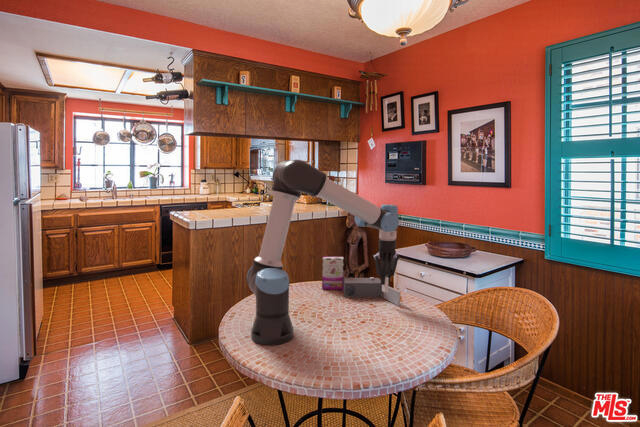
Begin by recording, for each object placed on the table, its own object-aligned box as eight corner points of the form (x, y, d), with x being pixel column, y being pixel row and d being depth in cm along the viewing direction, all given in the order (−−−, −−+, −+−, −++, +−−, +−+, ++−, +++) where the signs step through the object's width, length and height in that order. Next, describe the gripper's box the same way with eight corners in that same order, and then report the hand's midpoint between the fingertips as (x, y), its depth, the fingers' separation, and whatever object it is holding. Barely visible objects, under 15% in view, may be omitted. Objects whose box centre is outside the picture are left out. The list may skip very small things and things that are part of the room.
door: (401, 305, 161) (402, 291, 160) (397, 306, 160) (398, 291, 159) (385, 296, 172) (385, 283, 172) (381, 297, 172) (382, 284, 171)
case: (345, 298, 170) (345, 282, 169) (343, 291, 181) (343, 276, 180) (382, 298, 171) (383, 282, 170) (378, 291, 181) (379, 276, 180)
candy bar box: (343, 287, 187) (344, 256, 186) (343, 290, 182) (344, 258, 181) (322, 286, 188) (322, 256, 186) (321, 289, 183) (322, 258, 181)
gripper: (379, 241, 152) (376, 295, 155) (404, 240, 157) (401, 292, 159) (370, 238, 159) (367, 290, 162) (395, 237, 164) (392, 287, 166)
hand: (384, 291), depth 160 cm, fingers closed
